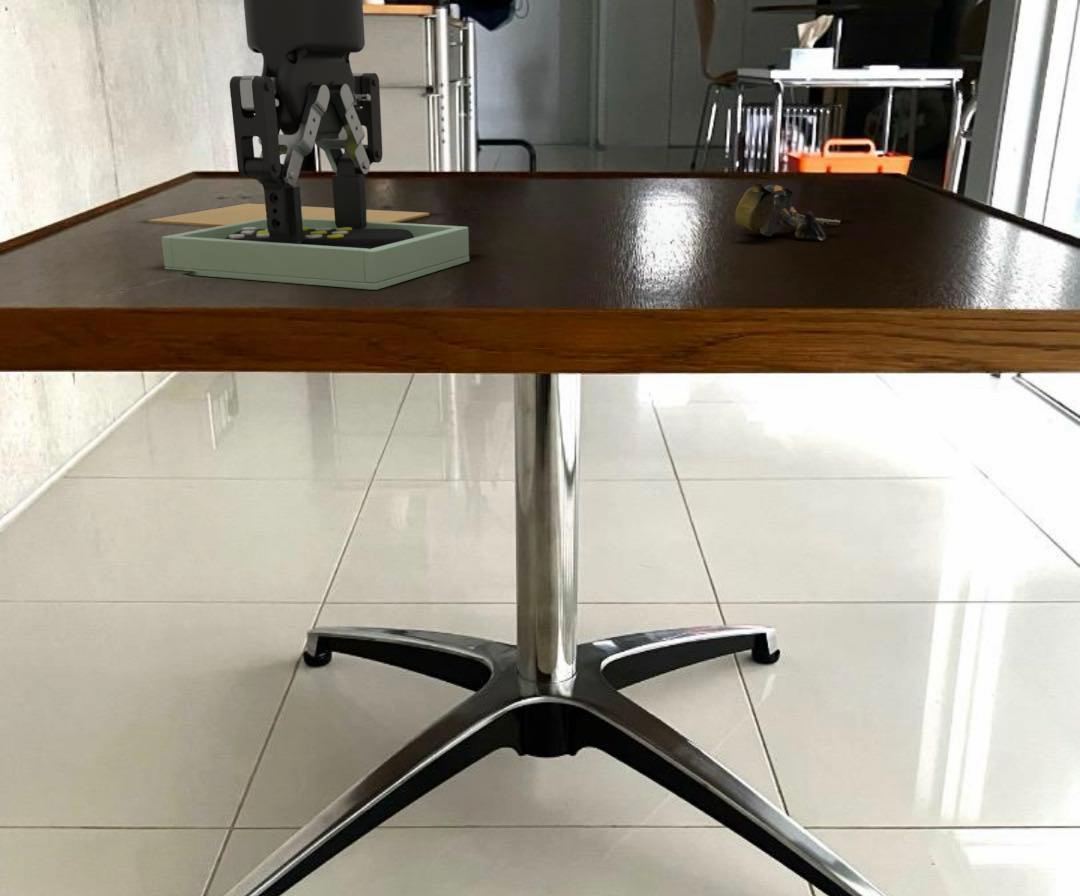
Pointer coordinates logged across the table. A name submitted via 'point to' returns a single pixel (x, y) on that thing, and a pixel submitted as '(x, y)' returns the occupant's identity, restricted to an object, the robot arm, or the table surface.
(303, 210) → the mat
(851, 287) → the table surface
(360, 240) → the remote control
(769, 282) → the table surface
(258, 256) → the tray
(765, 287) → the table surface
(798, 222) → the regulator
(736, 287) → the table surface
